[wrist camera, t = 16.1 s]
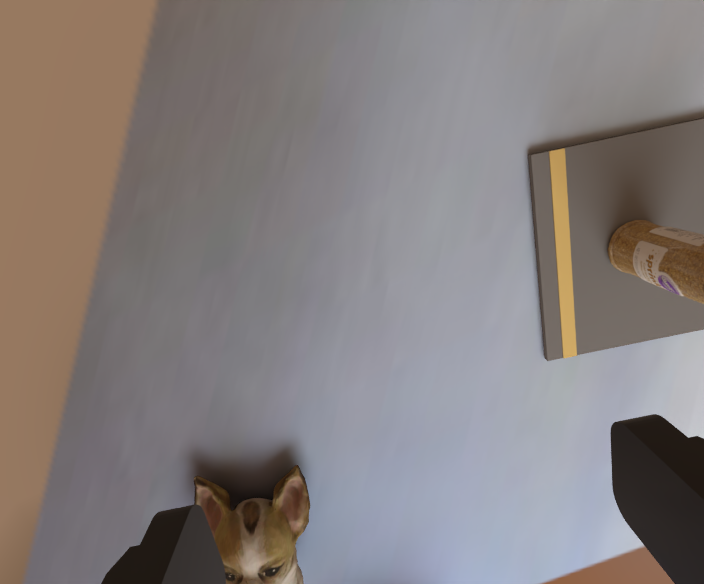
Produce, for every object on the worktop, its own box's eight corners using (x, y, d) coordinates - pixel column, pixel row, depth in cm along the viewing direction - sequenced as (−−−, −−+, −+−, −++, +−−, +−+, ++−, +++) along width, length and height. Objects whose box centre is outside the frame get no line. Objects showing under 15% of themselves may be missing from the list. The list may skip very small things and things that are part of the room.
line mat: (528, 154, 36) (531, 155, 36) (729, 112, 36) (737, 111, 36) (544, 357, 42) (548, 361, 41) (720, 322, 42) (726, 325, 41)
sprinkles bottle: (594, 254, 39) (725, 308, 26) (631, 207, 37) (787, 239, 25) (634, 282, 39) (780, 347, 27) (671, 237, 38) (842, 282, 26)
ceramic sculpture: (198, 671, 40) (165, 524, 36) (221, 585, 48) (196, 458, 44) (322, 657, 40) (301, 509, 36) (323, 573, 48) (306, 446, 45)
